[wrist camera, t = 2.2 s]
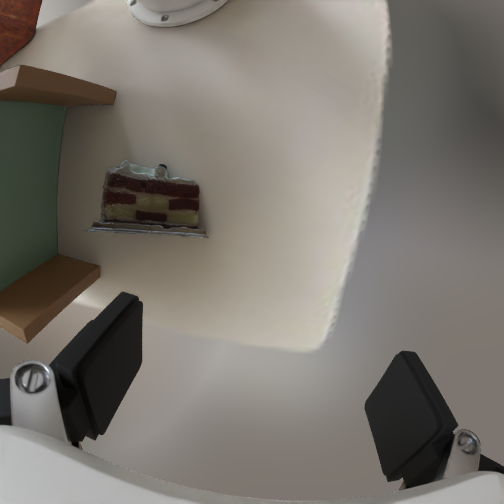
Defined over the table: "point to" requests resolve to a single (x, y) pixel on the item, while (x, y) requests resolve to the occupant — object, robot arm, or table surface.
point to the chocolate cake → (148, 202)
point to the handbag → (17, 25)
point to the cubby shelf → (36, 197)
